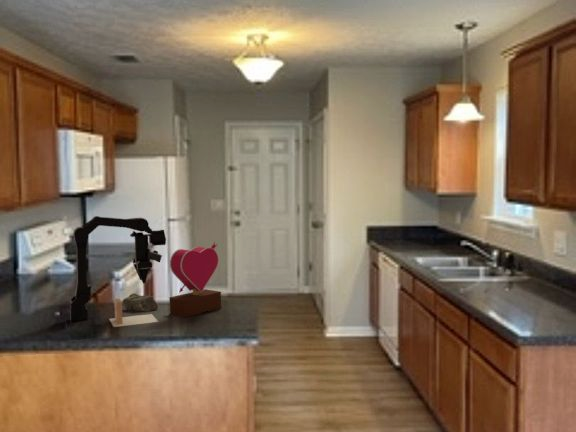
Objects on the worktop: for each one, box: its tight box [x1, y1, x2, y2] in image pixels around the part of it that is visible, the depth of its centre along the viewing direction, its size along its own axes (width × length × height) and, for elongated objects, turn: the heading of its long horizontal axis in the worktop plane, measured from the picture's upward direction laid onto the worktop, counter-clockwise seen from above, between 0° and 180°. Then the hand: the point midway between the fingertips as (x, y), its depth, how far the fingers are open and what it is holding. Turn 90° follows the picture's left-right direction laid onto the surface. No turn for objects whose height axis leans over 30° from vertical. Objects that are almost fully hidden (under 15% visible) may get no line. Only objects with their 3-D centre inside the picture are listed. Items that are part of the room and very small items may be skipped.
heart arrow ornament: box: [168, 242, 223, 318], centre depth 270 cm, size 25×10×30 cm, turn 141°
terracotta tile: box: [113, 298, 123, 324], centre depth 251 cm, size 2×8×9 cm, turn 23°
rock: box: [121, 293, 159, 313], centre depth 274 cm, size 17×7×10 cm
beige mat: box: [108, 313, 159, 328], centre depth 254 cm, size 18×15×1 cm
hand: (142, 281), depth 266 cm, fingers open, 9 cm apart
